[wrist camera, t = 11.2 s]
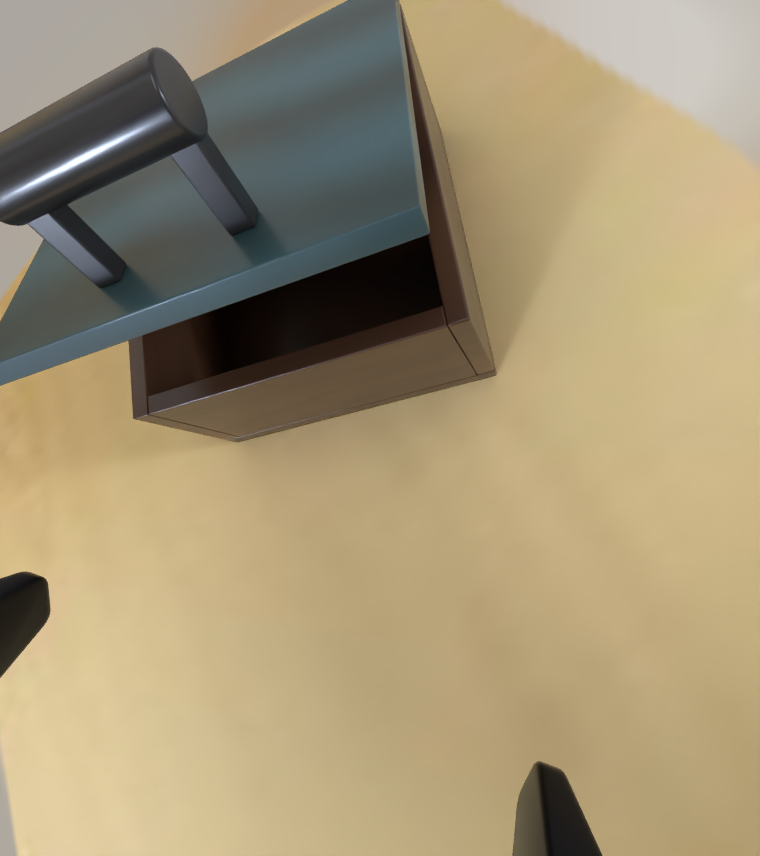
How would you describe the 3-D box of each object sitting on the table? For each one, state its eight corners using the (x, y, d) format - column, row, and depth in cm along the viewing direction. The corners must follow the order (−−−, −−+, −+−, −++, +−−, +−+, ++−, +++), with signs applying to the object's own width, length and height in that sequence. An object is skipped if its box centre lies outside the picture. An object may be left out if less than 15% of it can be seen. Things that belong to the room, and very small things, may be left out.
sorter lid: (430, 234, 10) (339, -14, 7) (-3, 387, 14) (-199, 271, 11) (399, 1, 17) (345, -181, 14) (115, 144, 21) (18, 27, 18)
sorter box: (496, 375, 21) (470, 319, 15) (236, 442, 24) (132, 419, 18) (440, 130, 23) (399, 0, 17) (213, 223, 27) (116, 142, 21)
